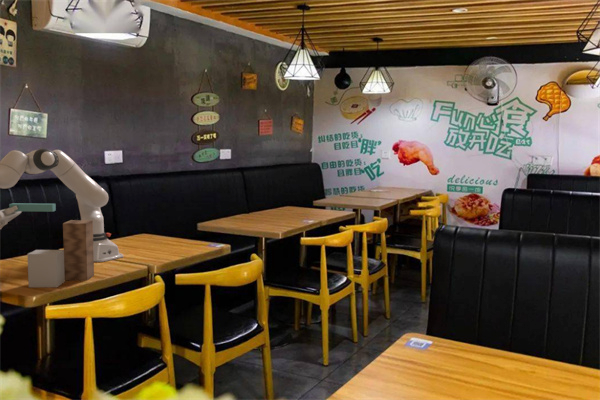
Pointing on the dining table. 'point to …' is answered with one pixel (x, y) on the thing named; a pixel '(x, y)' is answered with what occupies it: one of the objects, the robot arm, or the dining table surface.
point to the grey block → (46, 268)
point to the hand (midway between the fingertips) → (19, 206)
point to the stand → (78, 250)
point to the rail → (34, 207)
